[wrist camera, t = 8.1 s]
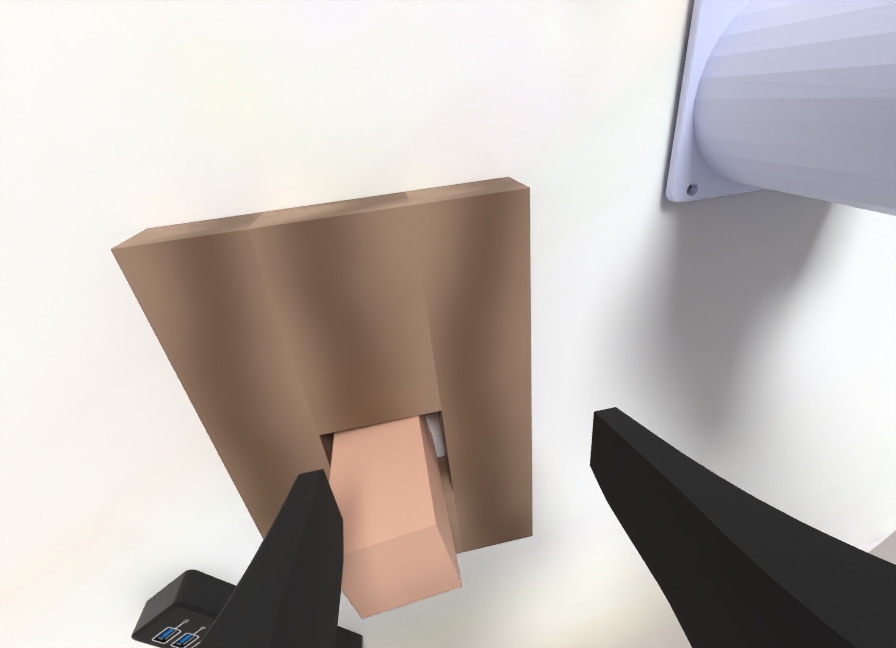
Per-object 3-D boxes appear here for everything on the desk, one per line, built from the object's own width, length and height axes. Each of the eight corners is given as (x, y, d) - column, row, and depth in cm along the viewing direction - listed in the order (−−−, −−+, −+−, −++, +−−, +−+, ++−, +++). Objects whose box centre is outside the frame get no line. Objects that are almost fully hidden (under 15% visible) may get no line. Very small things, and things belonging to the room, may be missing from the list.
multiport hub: (192, 561, 25) (176, 601, 23) (365, 631, 31) (364, 667, 29) (146, 597, 25) (126, 639, 23) (323, 658, 32) (320, 695, 30)
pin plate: (508, 176, 17) (529, 187, 15) (518, 500, 26) (532, 535, 24) (147, 228, 15) (110, 249, 13) (298, 550, 25) (291, 592, 23)
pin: (413, 383, 21) (435, 524, 14) (433, 439, 23) (462, 586, 16) (336, 407, 21) (321, 561, 14) (363, 460, 23) (362, 618, 16)
